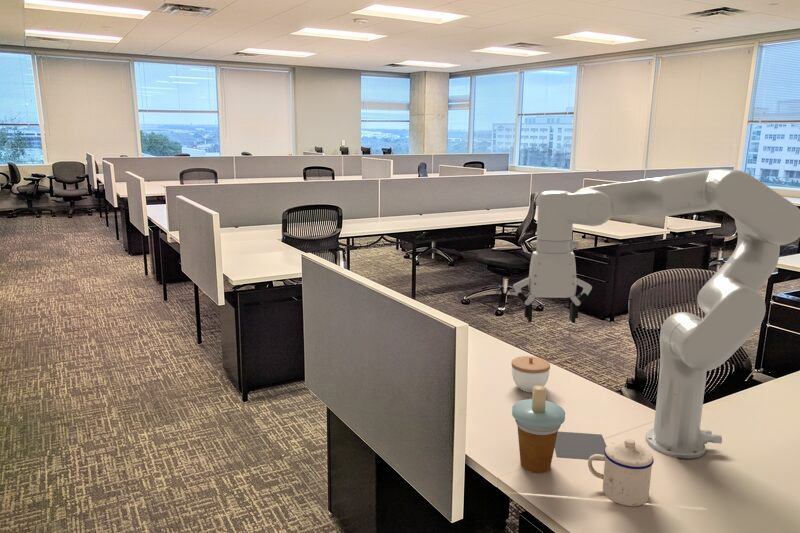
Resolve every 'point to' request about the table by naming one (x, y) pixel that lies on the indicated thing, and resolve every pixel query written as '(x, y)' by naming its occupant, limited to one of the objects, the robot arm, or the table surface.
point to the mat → (579, 445)
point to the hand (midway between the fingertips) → (550, 320)
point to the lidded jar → (530, 372)
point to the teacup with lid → (625, 472)
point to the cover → (538, 410)
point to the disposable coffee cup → (536, 447)
